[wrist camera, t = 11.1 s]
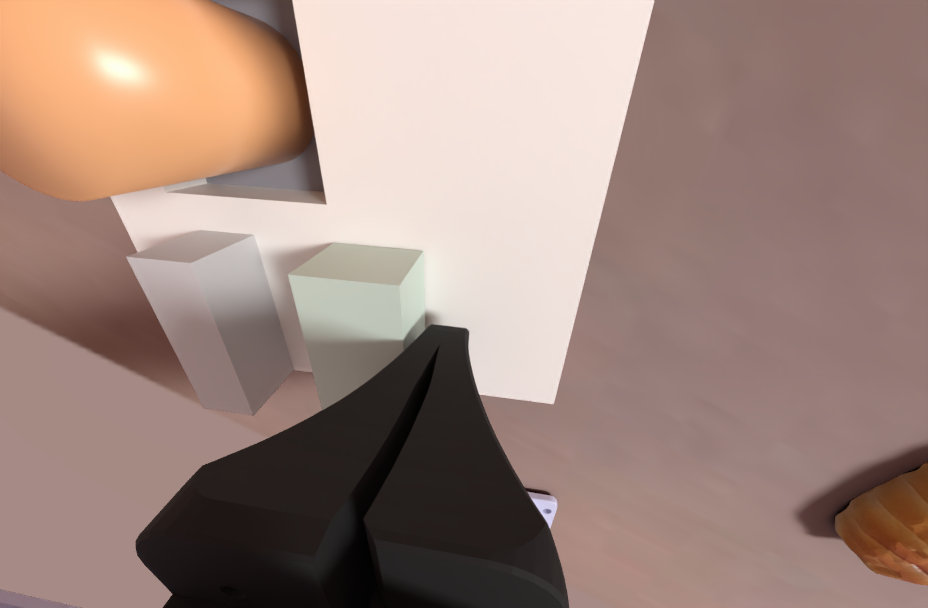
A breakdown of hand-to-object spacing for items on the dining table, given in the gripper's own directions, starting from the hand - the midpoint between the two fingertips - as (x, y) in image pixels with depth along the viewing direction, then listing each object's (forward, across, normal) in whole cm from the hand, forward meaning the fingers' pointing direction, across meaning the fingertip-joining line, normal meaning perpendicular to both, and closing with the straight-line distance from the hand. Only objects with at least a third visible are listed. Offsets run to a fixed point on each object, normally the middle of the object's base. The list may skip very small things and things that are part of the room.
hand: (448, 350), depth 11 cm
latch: (+1, +2, 0) cm, 3 cm away
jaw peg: (+3, +7, -7) cm, 10 cm away
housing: (+3, +4, -4) cm, 6 cm away
